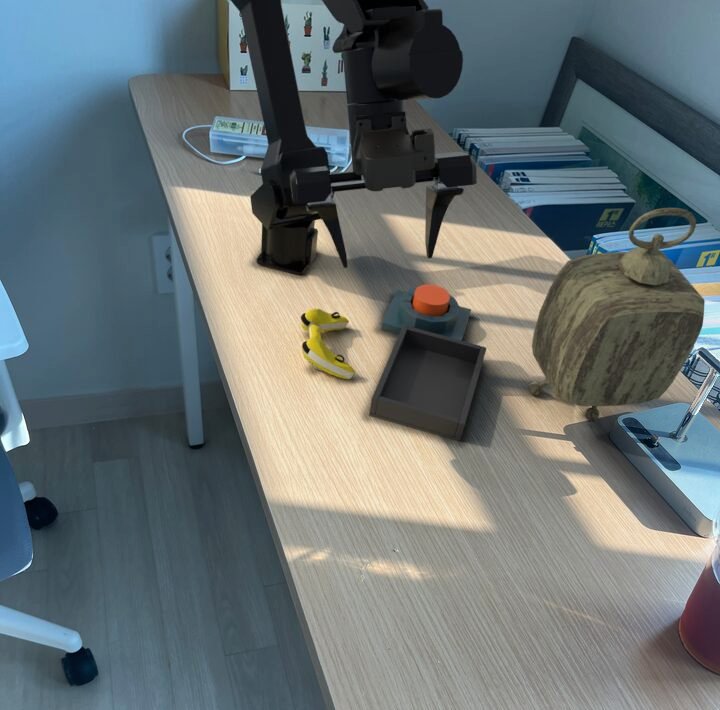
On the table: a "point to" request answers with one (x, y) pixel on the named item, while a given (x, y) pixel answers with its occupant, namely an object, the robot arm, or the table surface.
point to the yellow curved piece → (316, 348)
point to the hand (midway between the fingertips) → (387, 262)
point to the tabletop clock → (618, 324)
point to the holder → (428, 383)
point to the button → (431, 300)
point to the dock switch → (425, 317)
